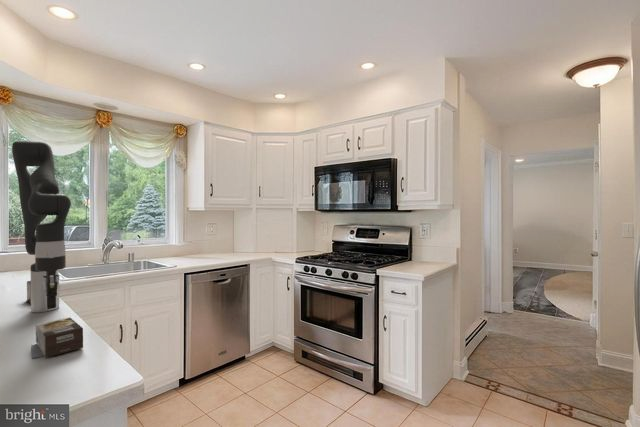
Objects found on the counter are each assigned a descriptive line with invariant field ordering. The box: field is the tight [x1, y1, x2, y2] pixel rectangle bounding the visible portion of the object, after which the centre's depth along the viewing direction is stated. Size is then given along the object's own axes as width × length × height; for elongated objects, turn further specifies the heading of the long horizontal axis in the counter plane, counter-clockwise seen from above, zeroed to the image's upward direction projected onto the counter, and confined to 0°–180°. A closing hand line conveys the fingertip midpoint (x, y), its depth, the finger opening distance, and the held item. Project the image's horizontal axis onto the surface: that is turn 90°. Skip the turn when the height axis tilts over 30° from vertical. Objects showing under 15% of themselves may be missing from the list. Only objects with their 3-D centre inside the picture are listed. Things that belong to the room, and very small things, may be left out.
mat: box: [31, 343, 45, 360], centre depth 99 cm, size 12×10×1 cm
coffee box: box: [35, 317, 84, 358], centre depth 100 cm, size 9×6×16 cm
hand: (51, 308), depth 104 cm, fingers closed
